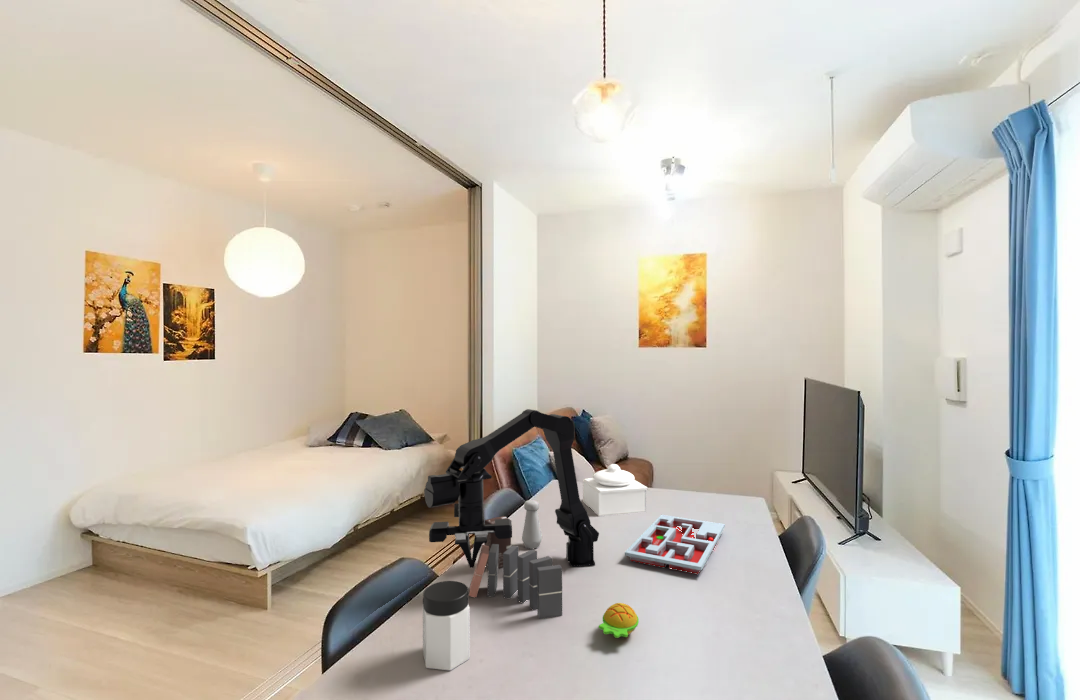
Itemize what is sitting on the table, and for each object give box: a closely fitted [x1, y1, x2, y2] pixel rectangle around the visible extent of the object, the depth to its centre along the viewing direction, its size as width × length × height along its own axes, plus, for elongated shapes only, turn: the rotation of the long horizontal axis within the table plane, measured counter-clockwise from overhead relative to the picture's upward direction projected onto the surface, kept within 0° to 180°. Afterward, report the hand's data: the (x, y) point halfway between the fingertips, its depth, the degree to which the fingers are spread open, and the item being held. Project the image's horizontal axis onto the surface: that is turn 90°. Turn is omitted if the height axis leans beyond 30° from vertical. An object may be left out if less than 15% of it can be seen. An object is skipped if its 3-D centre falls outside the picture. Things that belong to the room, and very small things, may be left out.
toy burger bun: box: [598, 602, 640, 639], centre depth 96 cm, size 7×10×5 cm
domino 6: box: [536, 564, 563, 620], centre depth 104 cm, size 2×5×10 cm, turn 105°
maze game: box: [624, 514, 726, 575], centre depth 140 cm, size 35×20×3 cm, turn 151°
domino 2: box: [486, 544, 499, 598], centre depth 115 cm, size 2×5×10 cm, turn 177°
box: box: [483, 515, 512, 569], centre depth 129 cm, size 6×4×12 cm
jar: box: [422, 580, 471, 671], centre depth 90 cm, size 9×8×12 cm
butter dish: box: [582, 463, 648, 517], centre depth 178 cm, size 18×18×16 cm
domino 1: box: [468, 544, 489, 598], centre depth 114 cm, size 2×5×10 cm, turn 5°
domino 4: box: [517, 549, 538, 604], centre depth 111 cm, size 2×5×10 cm, turn 141°
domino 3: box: [502, 545, 519, 599], centre depth 114 cm, size 2×5×10 cm, turn 159°
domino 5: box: [528, 555, 553, 611], centre depth 108 cm, size 2×5×10 cm, turn 123°
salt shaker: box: [521, 499, 543, 550], centre depth 142 cm, size 6×6×13 cm
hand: (471, 567), depth 114 cm, fingers closed
